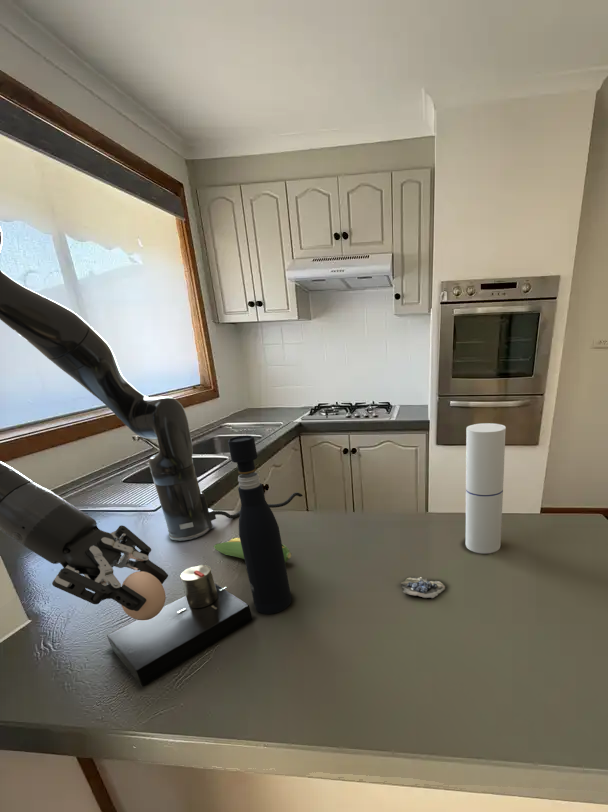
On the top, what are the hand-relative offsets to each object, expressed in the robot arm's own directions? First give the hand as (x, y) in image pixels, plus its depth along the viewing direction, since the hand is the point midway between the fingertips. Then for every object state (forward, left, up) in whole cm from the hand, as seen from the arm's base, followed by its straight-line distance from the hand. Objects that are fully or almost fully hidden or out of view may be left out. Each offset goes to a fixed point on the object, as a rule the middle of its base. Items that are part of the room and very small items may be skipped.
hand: (153, 592), depth 61 cm
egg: (+1, -1, -4) cm, 5 cm away
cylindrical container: (-56, +23, -11) cm, 61 cm away
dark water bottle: (-17, +3, -11) cm, 20 cm away
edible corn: (-24, -14, -11) cm, 30 cm away
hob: (-3, -2, -11) cm, 11 cm away
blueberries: (-36, +22, -11) cm, 43 cm away
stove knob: (-8, -4, -8) cm, 12 cm away
